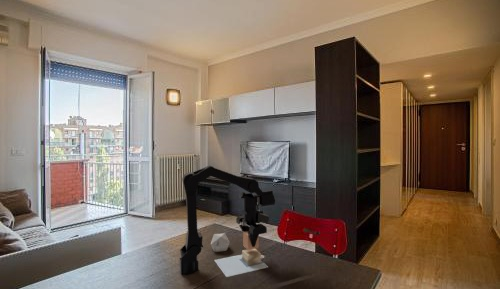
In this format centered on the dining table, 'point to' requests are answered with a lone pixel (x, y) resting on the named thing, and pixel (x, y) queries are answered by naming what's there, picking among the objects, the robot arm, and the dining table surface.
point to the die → (220, 242)
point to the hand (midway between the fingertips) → (250, 244)
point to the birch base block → (251, 256)
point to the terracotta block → (247, 241)
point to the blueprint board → (237, 265)
